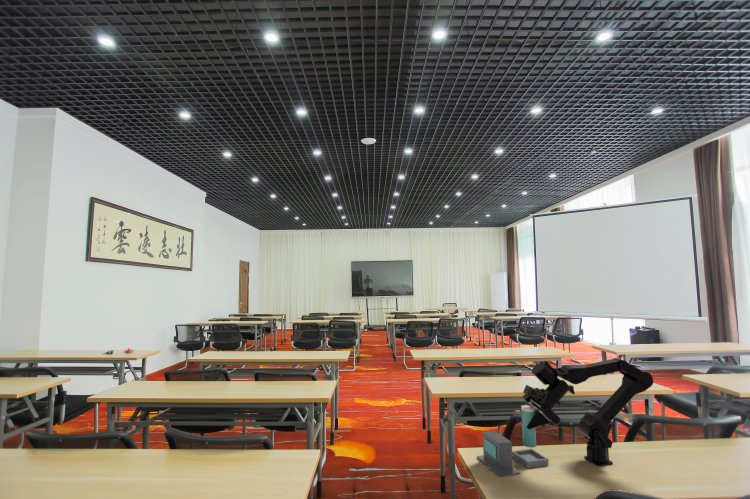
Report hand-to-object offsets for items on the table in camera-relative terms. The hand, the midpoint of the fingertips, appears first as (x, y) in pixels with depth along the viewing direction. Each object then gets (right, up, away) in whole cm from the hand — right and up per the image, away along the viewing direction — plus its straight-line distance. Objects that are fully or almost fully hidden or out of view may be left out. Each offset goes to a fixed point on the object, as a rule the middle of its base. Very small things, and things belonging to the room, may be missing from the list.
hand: (524, 425), depth 133 cm
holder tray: (+1, -12, -1) cm, 12 cm away
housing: (-11, -12, -4) cm, 17 cm away
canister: (+1, -7, -1) cm, 7 cm away
